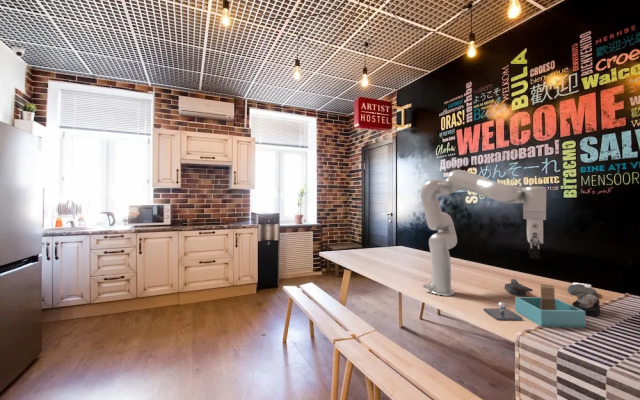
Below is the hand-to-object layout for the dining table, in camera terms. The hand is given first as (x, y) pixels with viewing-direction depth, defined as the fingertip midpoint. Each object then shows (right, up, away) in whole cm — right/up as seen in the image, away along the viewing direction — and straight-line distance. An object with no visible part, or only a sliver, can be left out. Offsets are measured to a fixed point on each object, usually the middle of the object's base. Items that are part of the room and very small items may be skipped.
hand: (533, 256), depth 116 cm
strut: (+2, -23, -5) cm, 24 cm away
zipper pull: (+11, -25, +25) cm, 37 cm away
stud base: (-14, -24, -1) cm, 28 cm away
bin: (+2, -24, -5) cm, 25 cm away
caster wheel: (+24, -24, +1) cm, 34 cm away
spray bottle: (+48, -25, +29) cm, 61 cm away
